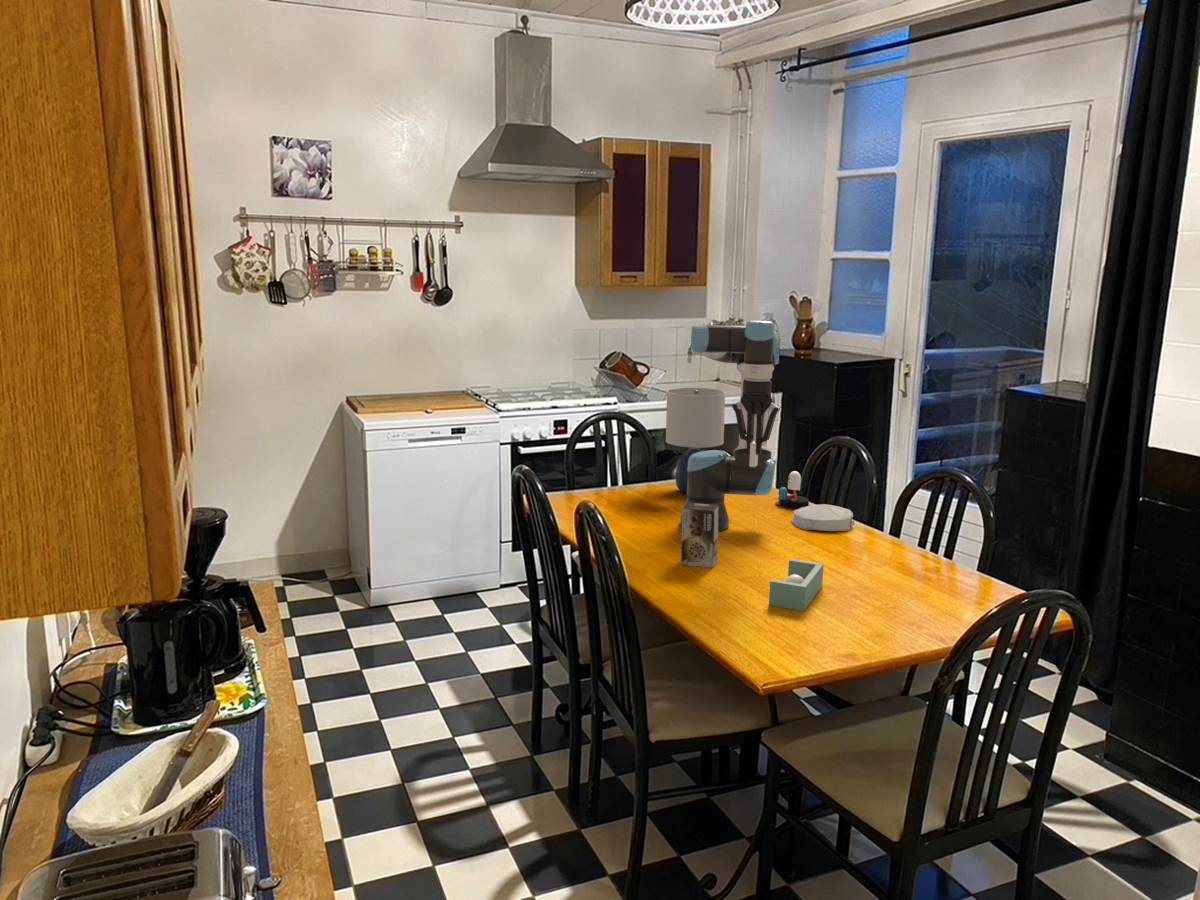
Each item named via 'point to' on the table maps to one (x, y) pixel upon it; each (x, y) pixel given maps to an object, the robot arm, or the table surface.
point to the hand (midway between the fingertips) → (753, 465)
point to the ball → (794, 579)
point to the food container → (823, 518)
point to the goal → (797, 586)
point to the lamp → (694, 423)
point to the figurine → (793, 500)
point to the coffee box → (700, 534)
